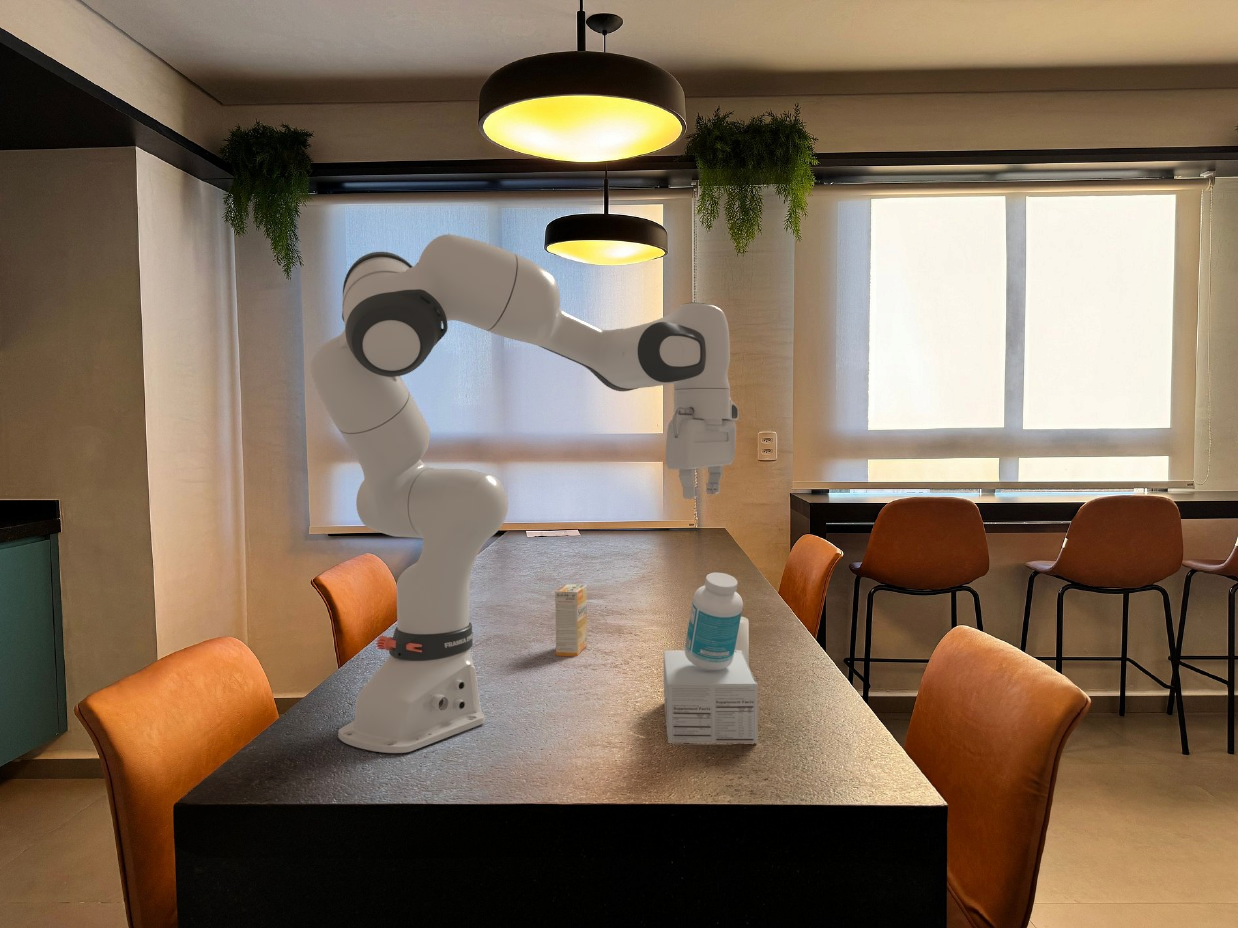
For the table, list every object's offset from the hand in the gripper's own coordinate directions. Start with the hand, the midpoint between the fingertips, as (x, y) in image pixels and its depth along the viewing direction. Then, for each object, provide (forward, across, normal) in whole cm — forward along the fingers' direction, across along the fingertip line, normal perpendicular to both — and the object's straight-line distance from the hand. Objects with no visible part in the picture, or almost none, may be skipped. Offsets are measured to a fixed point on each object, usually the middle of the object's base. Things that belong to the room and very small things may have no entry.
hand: (701, 496), depth 125 cm
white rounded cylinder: (+34, +24, +5) cm, 42 cm away
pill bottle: (+24, -5, -3) cm, 25 cm away
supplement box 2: (+35, -4, -3) cm, 35 cm away
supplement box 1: (+35, +20, +37) cm, 54 cm away
